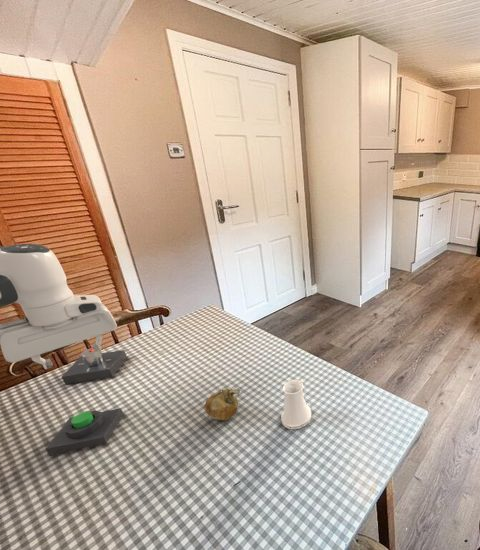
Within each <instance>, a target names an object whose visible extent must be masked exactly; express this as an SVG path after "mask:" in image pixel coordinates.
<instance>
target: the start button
mask: <svg viewBox="0 0 480 550" xmlns="http://www.w3.org/2000/svg"><path fill="white" fill-rule="evenodd" d="M90 411H91V410H87V411H82V412H80V413H79V412H78V414H76V415H75V416H72V417H73V419H72V420H71V423H72V425H73V427H74V428H75V429H79V428H82V427H84V426H87V425H88V424H90V423H91V422H92V421H93V419H94V418H93V416H92V413H91V412H90Z"/></svg>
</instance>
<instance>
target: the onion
mask: <svg viewBox="0 0 480 550" xmlns="http://www.w3.org/2000/svg"><path fill="white" fill-rule="evenodd" d="M241 390H242V388H241V387H238V388H233V387H225V388H224V389H221V390H219V391H217V392H216V393H213V394H212V395H210V396H209V397H208V398H207V400H206V401H205V404H204V411H205V414H206V415H207V416H208V417H209V418H211V419H213V420H217V421H227V420H230V419H231V418H232V417H234V415H235V414H236V413H237V411H238V408H239V400H238V398H237V396H236V395H237V394H239V395H240V394H241ZM235 394H236V395H235Z"/></svg>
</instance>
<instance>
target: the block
mask: <svg viewBox="0 0 480 550" xmlns="http://www.w3.org/2000/svg"><path fill="white" fill-rule="evenodd" d="M89 411H90V412H91V413H92V416H93V418H94V419H93V421H92V422H91V423H90V424H88V425H87V426H84V427H82V428H79V429H75V428H74V427H73V425H72V423H71V420H72V419H73V417H74V416H71V417H69V418H68V420H66V422H65V423H64V424H63V426H62V427H61V428H60V429H59V431H58V432H57V434H55V436H54V437H53V438H52V440H51V441H50V443H49V444H48V445H47V447H46V448H45V450H46V453H47V454H48V456H55V455H59V454H64V453H69V452H74V451H78V450H82V449H88V448H93V447H97V446H102V445H107V444H108V442H109V440H110V438H111V437H112V435H113V433H114V431H115V430H116V428H117V426H118V425H119V423H120V421H121V420H122V417H123V416H124V412H123V409H122V408H121V407H119V408H114V409H108V410H103V411H99V410H95V409H94V410H89Z"/></svg>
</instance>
